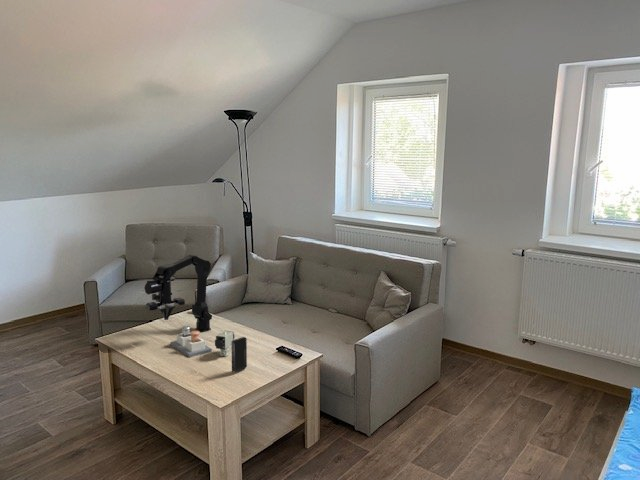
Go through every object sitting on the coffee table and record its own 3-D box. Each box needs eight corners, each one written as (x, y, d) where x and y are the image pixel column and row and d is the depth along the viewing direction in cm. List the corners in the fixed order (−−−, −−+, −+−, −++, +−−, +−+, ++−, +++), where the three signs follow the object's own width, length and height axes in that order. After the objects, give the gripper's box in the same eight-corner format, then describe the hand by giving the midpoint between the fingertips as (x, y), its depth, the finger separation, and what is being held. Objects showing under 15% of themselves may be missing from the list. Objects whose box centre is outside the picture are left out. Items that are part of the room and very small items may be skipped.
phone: (233, 373, 223) (232, 341, 221) (231, 372, 224) (231, 340, 221) (246, 367, 229) (246, 336, 226) (245, 367, 229) (245, 336, 227)
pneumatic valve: (235, 351, 248) (234, 328, 247) (223, 360, 237) (222, 336, 236) (225, 350, 250) (225, 327, 248) (213, 358, 239) (212, 334, 237)
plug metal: (188, 334, 258) (188, 325, 258) (192, 336, 255) (192, 327, 254) (179, 335, 255) (179, 326, 255) (183, 338, 252) (183, 329, 251)
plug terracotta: (197, 339, 251) (196, 330, 250) (201, 341, 247) (201, 332, 247) (188, 341, 248) (188, 331, 247) (192, 343, 244) (192, 334, 244)
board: (191, 339, 264) (191, 329, 263) (211, 351, 248) (211, 341, 247) (170, 344, 256) (170, 334, 256) (189, 357, 240) (189, 346, 239)
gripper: (175, 284, 265) (176, 313, 268) (141, 290, 253) (142, 319, 256) (184, 288, 257) (185, 317, 259) (149, 294, 245) (150, 324, 247)
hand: (166, 319), depth 255 cm, fingers closed
